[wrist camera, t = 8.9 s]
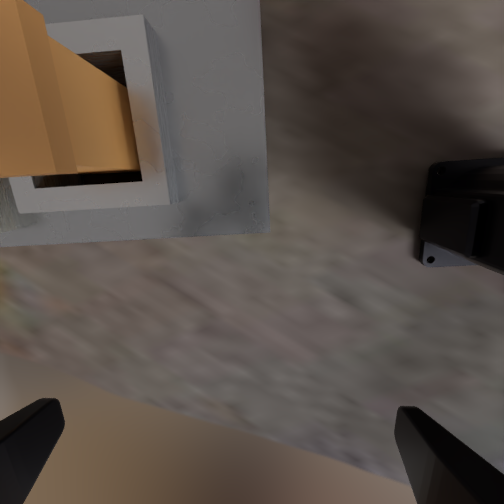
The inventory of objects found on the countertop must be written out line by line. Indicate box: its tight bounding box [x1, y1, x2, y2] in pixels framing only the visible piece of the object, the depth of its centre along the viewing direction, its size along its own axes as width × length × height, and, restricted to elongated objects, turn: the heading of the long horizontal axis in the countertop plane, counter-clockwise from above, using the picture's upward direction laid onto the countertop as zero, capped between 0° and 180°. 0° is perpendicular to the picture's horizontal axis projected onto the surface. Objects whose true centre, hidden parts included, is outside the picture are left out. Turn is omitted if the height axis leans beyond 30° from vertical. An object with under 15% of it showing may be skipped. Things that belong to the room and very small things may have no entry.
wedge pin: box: [0, 0, 141, 178], centre depth 12 cm, size 5×5×9 cm
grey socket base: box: [0, 0, 270, 247], centre depth 14 cm, size 18×12×4 cm, turn 94°
